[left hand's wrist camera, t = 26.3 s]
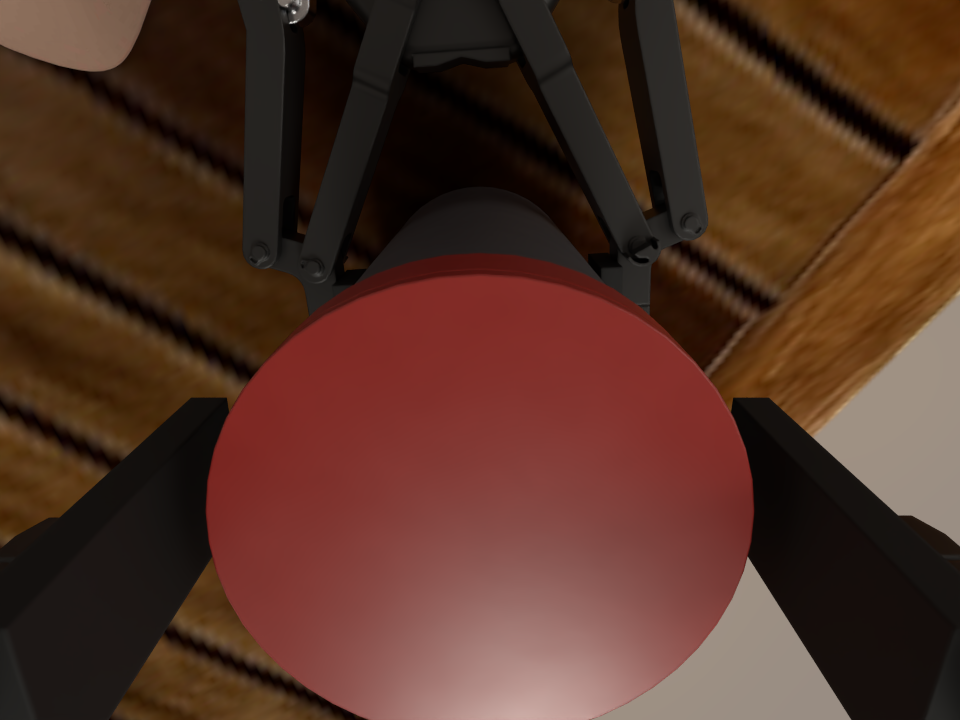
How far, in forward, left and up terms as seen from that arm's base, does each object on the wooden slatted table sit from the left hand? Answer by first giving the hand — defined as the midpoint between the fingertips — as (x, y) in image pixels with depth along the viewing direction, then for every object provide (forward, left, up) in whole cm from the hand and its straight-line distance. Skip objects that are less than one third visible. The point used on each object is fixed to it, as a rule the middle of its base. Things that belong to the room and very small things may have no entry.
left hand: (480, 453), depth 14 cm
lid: (0, 0, +3) cm, 3 cm away
